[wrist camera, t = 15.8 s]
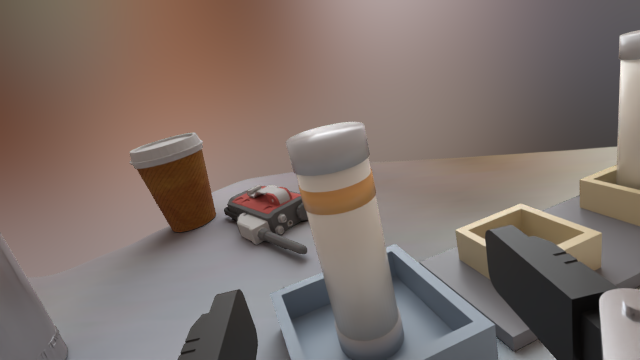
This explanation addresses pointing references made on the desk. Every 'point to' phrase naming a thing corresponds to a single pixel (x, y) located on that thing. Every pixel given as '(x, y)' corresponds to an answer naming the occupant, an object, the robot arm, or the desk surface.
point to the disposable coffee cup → (177, 180)
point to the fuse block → (563, 230)
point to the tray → (415, 309)
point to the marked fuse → (348, 237)
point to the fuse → (629, 112)
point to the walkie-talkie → (268, 215)
